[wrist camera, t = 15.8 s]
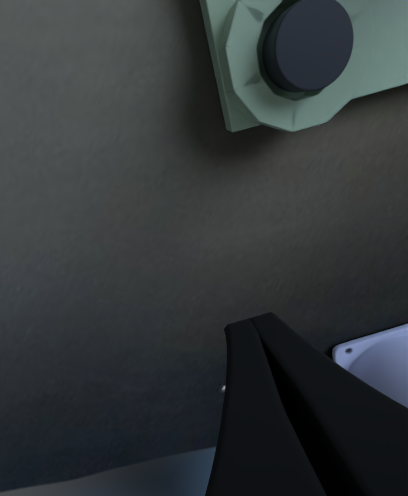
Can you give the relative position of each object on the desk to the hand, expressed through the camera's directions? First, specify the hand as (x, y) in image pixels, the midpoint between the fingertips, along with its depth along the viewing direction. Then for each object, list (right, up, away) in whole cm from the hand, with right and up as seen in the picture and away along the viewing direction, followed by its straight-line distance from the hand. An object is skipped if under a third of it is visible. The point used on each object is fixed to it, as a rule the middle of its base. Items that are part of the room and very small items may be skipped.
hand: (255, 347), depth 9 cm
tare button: (+2, +11, +4) cm, 12 cm away
